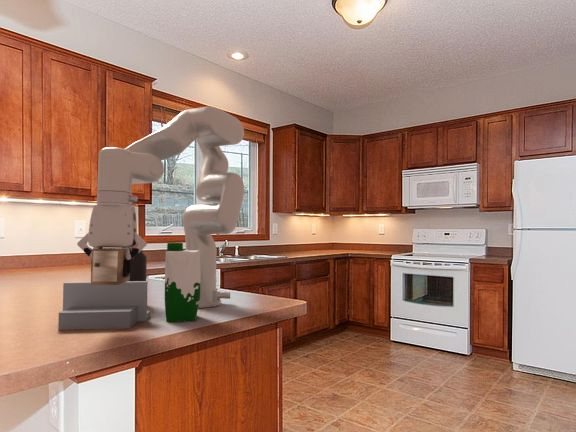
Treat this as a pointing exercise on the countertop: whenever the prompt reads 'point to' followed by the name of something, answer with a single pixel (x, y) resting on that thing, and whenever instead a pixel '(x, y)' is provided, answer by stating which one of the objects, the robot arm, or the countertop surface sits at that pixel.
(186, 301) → the milk carton
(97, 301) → the wall board
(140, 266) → the bottle
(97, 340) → the countertop surface
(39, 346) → the countertop surface
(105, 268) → the tan wooden block
